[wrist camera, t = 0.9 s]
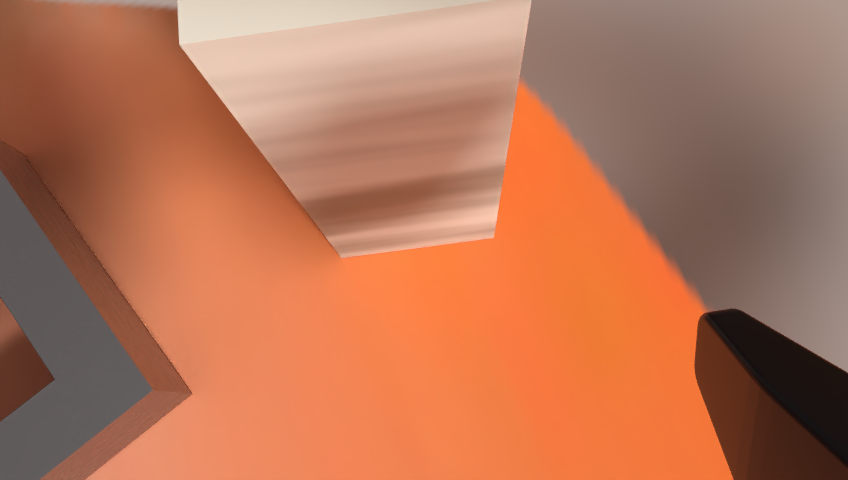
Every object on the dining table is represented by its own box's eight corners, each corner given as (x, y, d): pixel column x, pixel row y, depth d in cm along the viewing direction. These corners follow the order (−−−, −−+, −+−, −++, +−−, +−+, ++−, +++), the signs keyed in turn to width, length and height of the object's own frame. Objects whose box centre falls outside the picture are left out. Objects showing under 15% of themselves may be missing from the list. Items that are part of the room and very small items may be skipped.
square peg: (493, 237, 24) (532, -5, 10) (341, 258, 24) (178, 44, 10) (472, 96, 25) (481, -288, 11) (327, 116, 25) (166, -241, 12)
